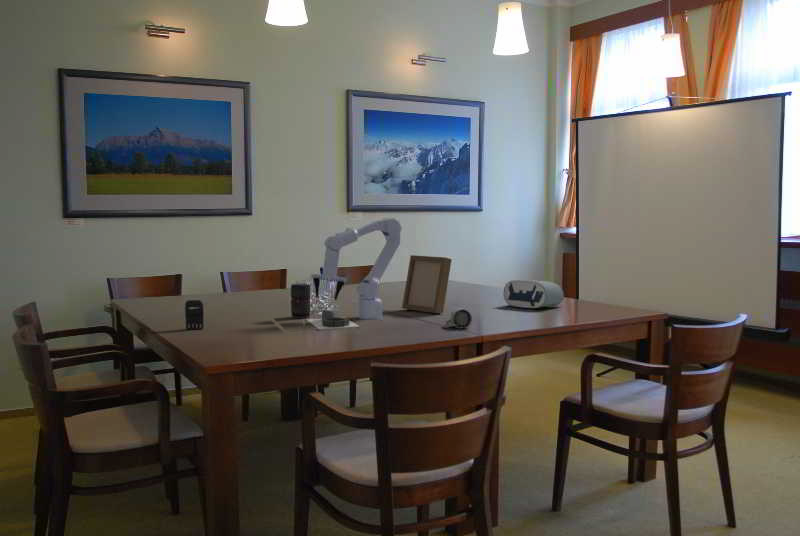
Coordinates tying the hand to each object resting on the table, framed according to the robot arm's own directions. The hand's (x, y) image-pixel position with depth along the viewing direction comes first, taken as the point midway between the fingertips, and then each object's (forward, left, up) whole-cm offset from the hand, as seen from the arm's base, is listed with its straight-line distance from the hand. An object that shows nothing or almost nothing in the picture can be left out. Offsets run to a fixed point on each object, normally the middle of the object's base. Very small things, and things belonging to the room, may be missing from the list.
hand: (326, 298), depth 277 cm
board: (-1, +7, -10) cm, 12 cm away
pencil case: (-103, -12, -10) cm, 104 cm away
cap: (-1, 0, -9) cm, 9 cm away
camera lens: (+8, -11, -10) cm, 17 cm away
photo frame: (-52, -16, -10) cm, 55 cm away
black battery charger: (+51, -2, -10) cm, 52 cm away
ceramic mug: (-45, +29, -10) cm, 55 cm away
